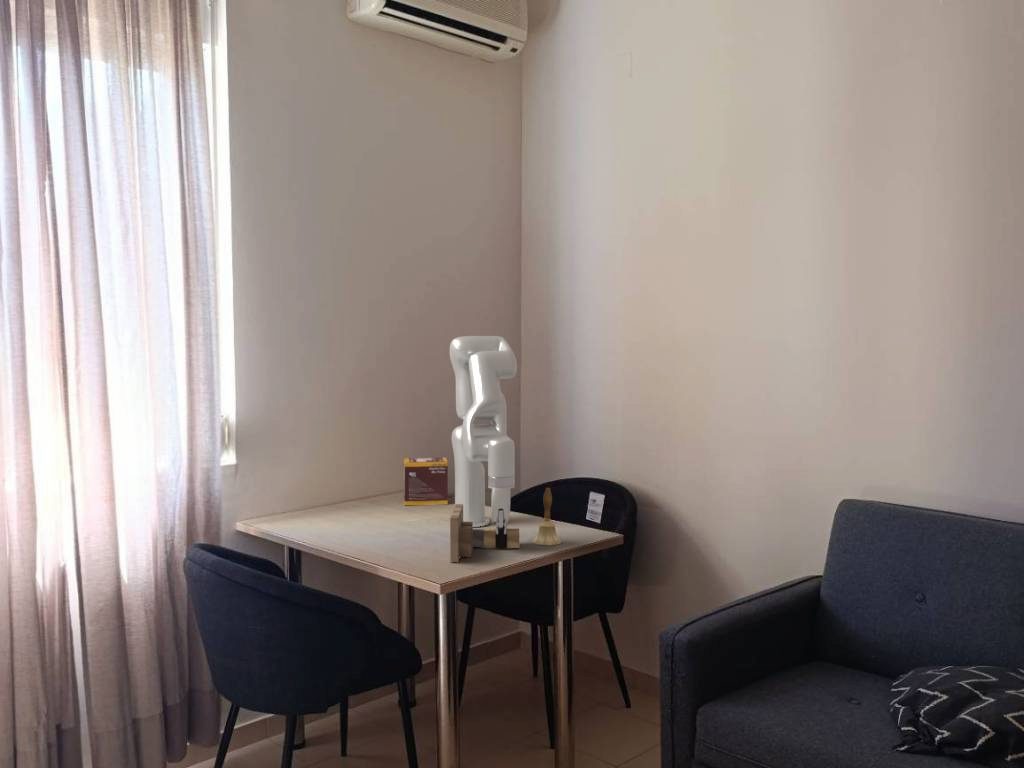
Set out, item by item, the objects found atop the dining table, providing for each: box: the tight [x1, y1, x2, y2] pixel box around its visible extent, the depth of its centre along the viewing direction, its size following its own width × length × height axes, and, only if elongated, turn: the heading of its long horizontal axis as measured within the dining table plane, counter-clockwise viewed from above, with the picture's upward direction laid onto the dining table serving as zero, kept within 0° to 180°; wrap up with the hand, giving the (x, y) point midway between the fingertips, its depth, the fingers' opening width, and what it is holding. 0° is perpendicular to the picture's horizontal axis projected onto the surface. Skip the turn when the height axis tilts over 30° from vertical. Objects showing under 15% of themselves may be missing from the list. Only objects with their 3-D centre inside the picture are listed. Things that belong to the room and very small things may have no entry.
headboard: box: [449, 504, 474, 563], centre depth 259 cm, size 20×5×12 cm, turn 179°
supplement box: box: [403, 456, 449, 506], centre depth 335 cm, size 10×15×16 cm
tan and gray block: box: [473, 528, 520, 549], centre depth 267 cm, size 4×14×5 cm, turn 89°
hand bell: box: [532, 487, 562, 547], centre depth 272 cm, size 8×8×16 cm
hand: (501, 545), depth 267 cm, fingers open, 3 cm apart
